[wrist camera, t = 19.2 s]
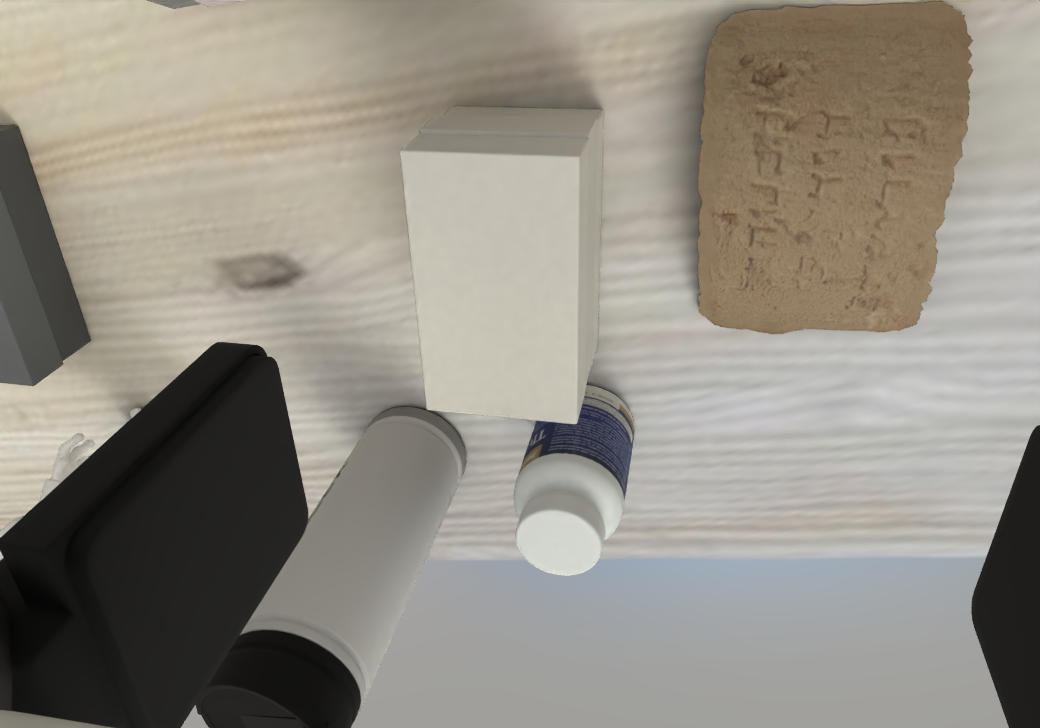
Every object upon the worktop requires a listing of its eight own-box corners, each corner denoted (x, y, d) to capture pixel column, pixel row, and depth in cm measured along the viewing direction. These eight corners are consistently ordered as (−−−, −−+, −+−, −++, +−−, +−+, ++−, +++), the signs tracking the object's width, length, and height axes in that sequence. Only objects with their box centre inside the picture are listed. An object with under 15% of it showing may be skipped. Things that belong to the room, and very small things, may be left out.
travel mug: (485, 485, 48) (361, 805, 31) (387, 493, 50) (221, 798, 33) (455, 398, 45) (301, 698, 29) (352, 410, 47) (152, 697, 31)
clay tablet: (912, 330, 38) (925, 358, 36) (693, 324, 40) (692, 350, 38) (974, -4, 31) (995, 4, 28) (704, 11, 33) (703, 20, 31)
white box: (419, 133, 33) (398, 150, 31) (589, 138, 32) (580, 155, 29) (441, 382, 39) (425, 410, 37) (585, 395, 38) (577, 425, 36)
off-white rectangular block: (452, 101, 37) (418, 129, 33) (604, 104, 36) (589, 133, 31) (468, 334, 43) (441, 382, 39) (597, 344, 42) (584, 395, 38)
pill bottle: (542, 374, 43) (501, 488, 35) (641, 389, 43) (623, 509, 34) (536, 453, 46) (497, 575, 38) (629, 469, 45) (610, 597, 37)
